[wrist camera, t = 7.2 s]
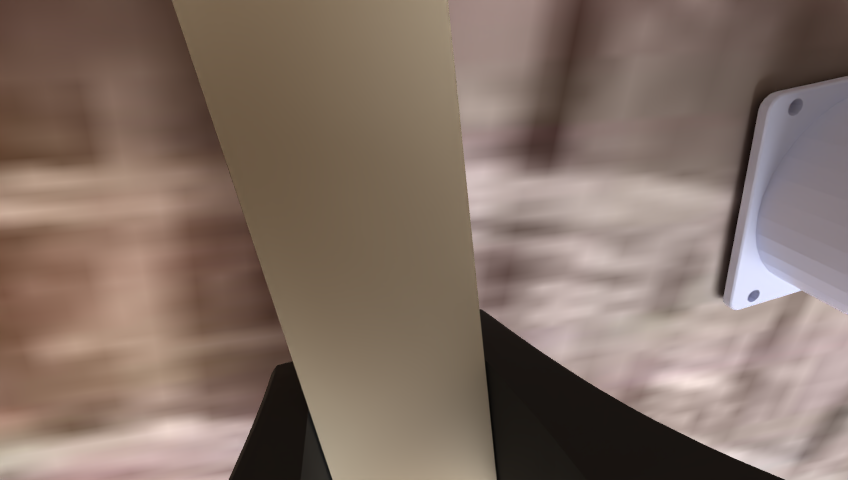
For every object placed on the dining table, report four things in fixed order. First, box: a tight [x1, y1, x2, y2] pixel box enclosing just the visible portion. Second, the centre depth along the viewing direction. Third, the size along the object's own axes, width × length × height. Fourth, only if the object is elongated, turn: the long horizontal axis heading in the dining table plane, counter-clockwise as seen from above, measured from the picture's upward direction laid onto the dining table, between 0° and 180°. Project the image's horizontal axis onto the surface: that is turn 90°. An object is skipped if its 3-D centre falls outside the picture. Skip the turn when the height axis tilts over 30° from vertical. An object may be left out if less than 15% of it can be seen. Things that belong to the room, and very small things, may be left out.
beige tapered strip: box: [172, 0, 497, 480], centre depth 9 cm, size 2×16×4 cm, turn 8°
